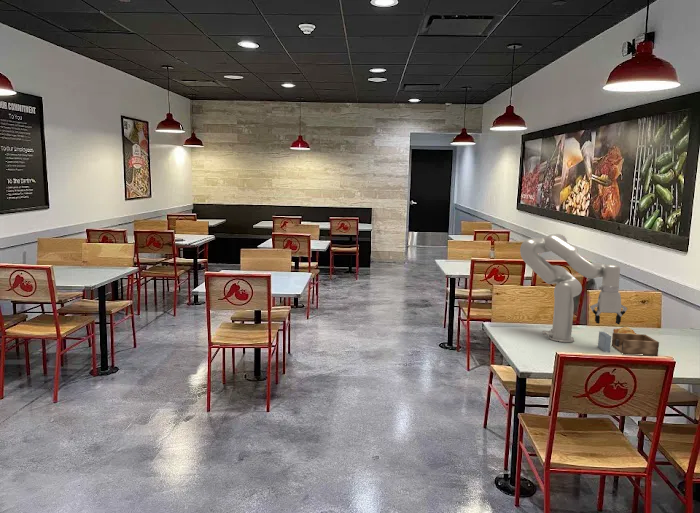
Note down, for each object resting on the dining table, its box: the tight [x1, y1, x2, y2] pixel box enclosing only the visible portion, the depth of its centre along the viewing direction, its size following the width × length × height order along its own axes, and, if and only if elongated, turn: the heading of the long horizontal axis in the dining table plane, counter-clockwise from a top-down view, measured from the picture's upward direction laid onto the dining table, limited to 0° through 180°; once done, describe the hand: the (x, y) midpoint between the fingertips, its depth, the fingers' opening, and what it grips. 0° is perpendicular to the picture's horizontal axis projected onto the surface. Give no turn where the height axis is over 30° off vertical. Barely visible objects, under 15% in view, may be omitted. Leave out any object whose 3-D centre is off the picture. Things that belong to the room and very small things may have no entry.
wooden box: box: [611, 332, 660, 357], centre depth 258 cm, size 16×14×7 cm
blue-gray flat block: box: [597, 330, 612, 353], centre depth 259 cm, size 3×9×8 cm, turn 175°
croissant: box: [612, 326, 637, 334], centre depth 280 cm, size 21×10×8 cm, turn 7°
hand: (607, 323), depth 258 cm, fingers open, 9 cm apart
